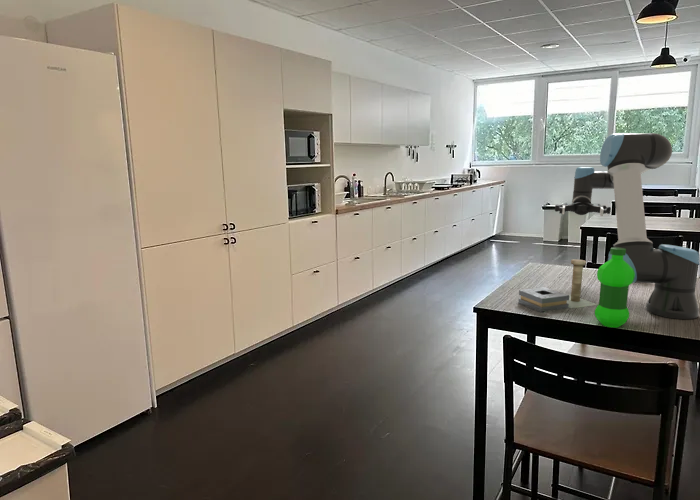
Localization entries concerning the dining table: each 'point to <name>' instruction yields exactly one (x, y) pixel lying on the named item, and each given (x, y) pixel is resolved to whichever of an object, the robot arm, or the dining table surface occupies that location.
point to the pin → (577, 279)
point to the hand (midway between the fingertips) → (582, 211)
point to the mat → (579, 303)
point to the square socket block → (543, 299)
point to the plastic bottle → (614, 289)
